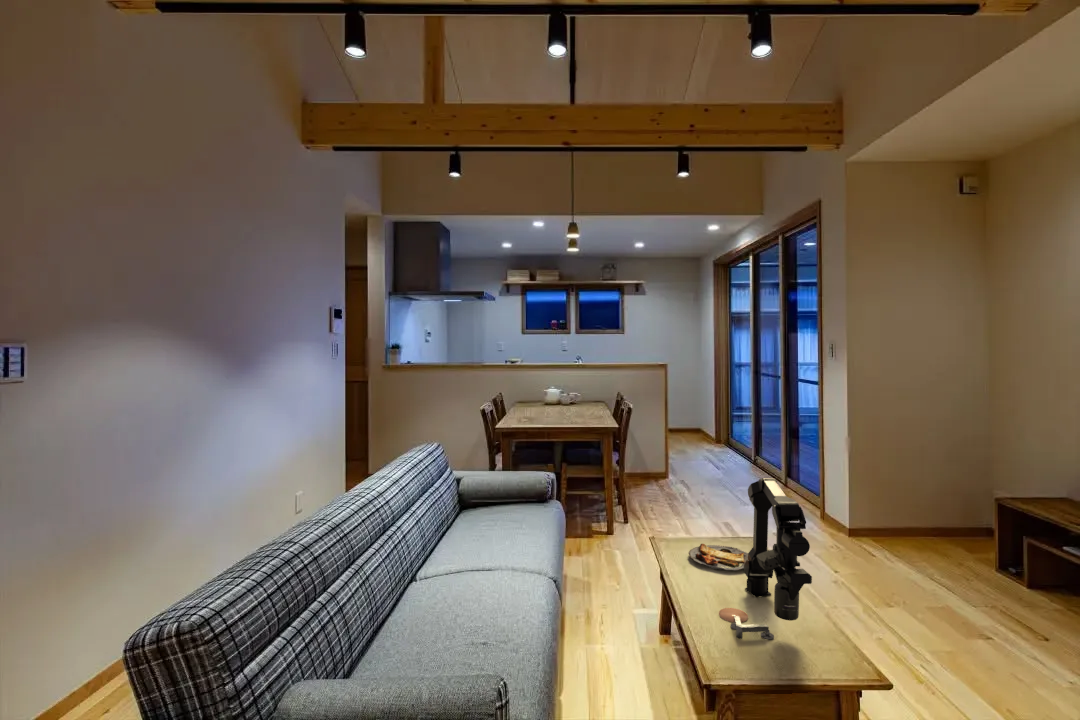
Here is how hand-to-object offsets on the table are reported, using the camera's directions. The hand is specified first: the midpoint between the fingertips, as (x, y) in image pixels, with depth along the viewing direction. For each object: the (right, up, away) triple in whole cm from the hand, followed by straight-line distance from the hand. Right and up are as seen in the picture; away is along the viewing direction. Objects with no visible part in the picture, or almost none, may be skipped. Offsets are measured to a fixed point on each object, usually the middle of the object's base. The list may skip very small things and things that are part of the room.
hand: (786, 594), depth 168 cm
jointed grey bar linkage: (-10, -13, +3) cm, 17 cm away
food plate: (-1, -11, +59) cm, 60 cm away
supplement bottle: (0, -7, 0) cm, 7 cm away
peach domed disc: (-11, -13, +13) cm, 22 cm away
